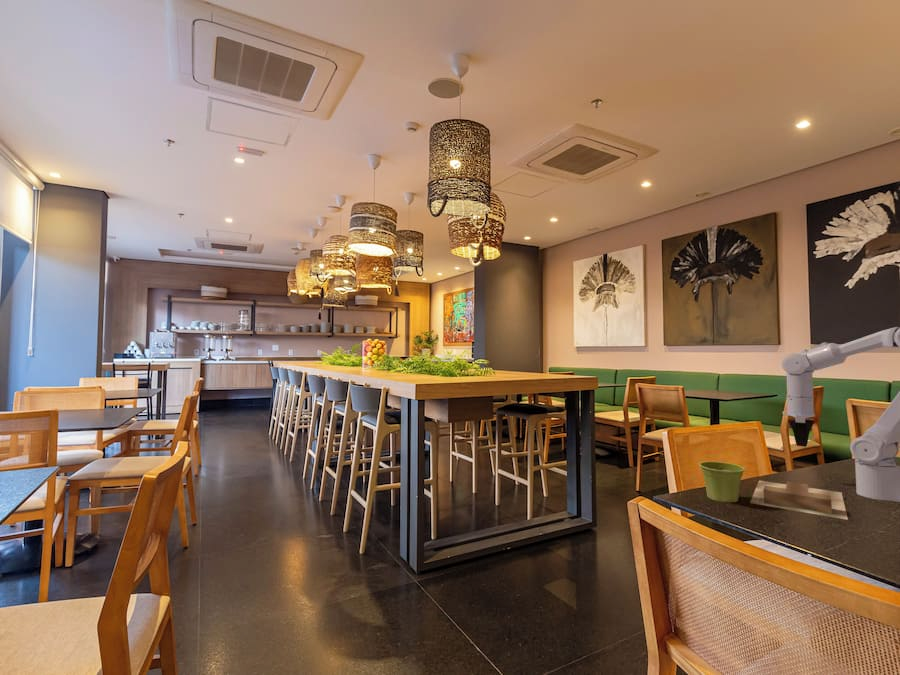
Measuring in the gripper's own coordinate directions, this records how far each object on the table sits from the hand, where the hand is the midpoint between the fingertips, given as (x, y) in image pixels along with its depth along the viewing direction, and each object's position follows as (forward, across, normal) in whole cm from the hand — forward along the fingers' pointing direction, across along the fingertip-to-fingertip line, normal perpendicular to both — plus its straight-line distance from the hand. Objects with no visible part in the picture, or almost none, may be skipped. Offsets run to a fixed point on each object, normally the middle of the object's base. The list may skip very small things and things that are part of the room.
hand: (801, 445), depth 121 cm
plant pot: (+11, +32, -15) cm, 37 cm away
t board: (+10, +20, -1) cm, 23 cm away
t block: (+9, +25, -1) cm, 27 cm away
